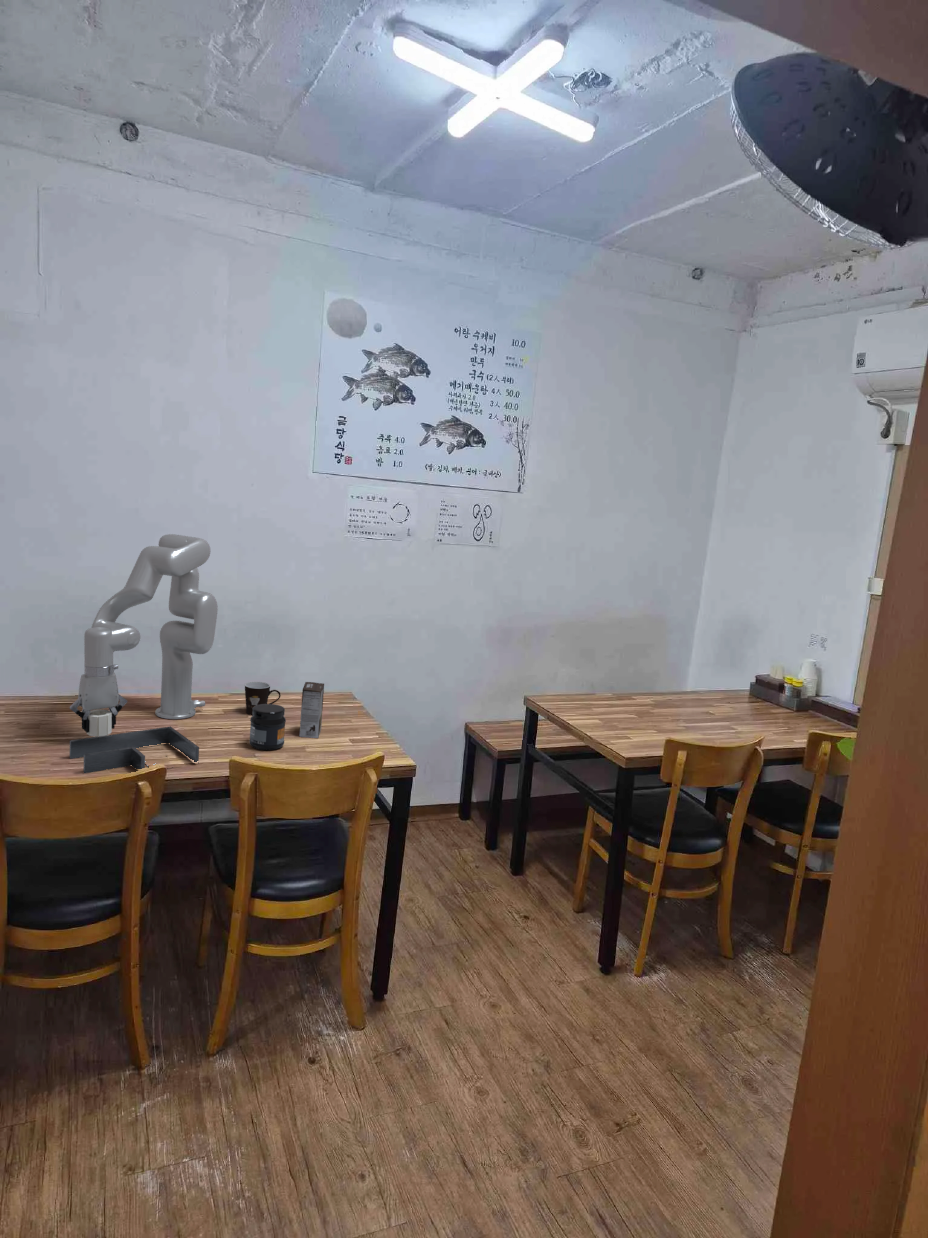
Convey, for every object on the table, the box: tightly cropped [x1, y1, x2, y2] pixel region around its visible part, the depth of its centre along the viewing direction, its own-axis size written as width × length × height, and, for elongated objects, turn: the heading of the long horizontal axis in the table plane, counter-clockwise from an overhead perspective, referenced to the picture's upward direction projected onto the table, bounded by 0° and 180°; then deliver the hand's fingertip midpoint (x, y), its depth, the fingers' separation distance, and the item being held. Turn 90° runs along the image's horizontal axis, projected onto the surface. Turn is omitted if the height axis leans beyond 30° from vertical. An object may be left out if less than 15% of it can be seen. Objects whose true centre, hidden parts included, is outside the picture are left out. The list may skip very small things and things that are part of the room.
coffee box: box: [299, 681, 325, 739], centre depth 251 cm, size 9×6×16 cm
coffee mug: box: [244, 681, 281, 716], centre depth 265 cm, size 12×9×10 cm
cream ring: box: [86, 709, 113, 737], centre depth 225 cm, size 6×6×6 cm
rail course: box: [69, 726, 200, 774], centre depth 214 cm, size 28×20×5 cm
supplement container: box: [248, 703, 287, 751], centre depth 236 cm, size 10×10×12 cm
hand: (99, 728), depth 225 cm, fingers closed on cream ring, 6 cm apart
